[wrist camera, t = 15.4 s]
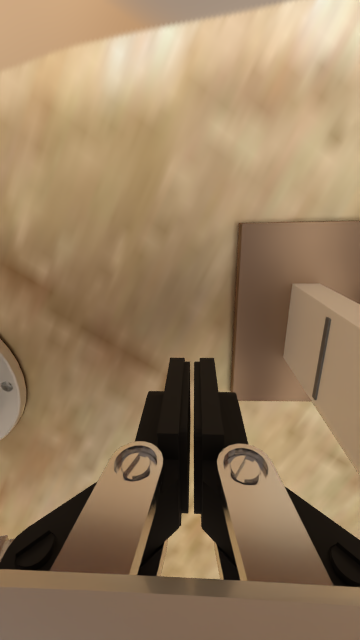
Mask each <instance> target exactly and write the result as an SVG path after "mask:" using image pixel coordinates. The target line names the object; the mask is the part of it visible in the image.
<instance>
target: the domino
mask: <svg viewBox="0 0 360 640" xmlns="http://www.w3.org/2000/svg"><path fill="white" fill-rule="evenodd" d="M283 358H284V359H285V361H286V362H287V364H288V365H289V367H290V369H291V370H292V372H293V373H294V375H295V376H296V378H297V379H298V381H299V382H300V384H301V386H302V387H303V389H304V390H305V392H306V393H307V395H308V396H309V398H310V399H311V401H312V403H313V404H314V406H315V407H316V409H317V410H318V412H319V413H320V415H321V416H322V418H323V420H324V421H325V423H326V424H327V426H328V427H329V429H330V430H331V432H332V434H333V435H334V437H335V438H336V440H337V441H338V443H339V444H340V446H341V447H342V449H343V451H344V452H345V454H346V455H347V457H348V458H349V460H350V461H351V463H352V464H353V466H354V468H355V469H356V471H357V472H358V474H359V475H360V304H358V303H356V302H354V301H352V300H350V299H348V298H346V297H345V296H343V295H341V294H339V293H337V292H335V291H333V290H331V289H329V288H327V287H325V286H323V285H321V284H320V283H316V284H292V291H291V299H290V307H289V315H288V323H287V331H286V339H285V347H284V355H283Z"/></svg>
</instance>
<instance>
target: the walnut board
mask: <svg viewBox="0 0 360 640" xmlns="http://www.w3.org/2000/svg"><path fill="white" fill-rule="evenodd" d="M316 283H320V284H321V285H323V286H325V287H327V288H329V289H331V290H333V291H335V292H337V293H339V294H341V295H343V296H345V297H346V298H348V299H350V300H352V301H354V302H356V303H358V304H360V221H319V222H271V223H239V233H238V253H237V272H236V292H235V312H234V331H233V351H232V370H231V390H230V391H231V392H235V393H236V395H237V399H238V401H311V399H310V398H309V396H308V395H307V393H306V392H305V390H304V389H303V387H302V386H301V384H300V382H299V381H298V379H297V378H296V376H295V375H294V373H293V372H292V370H291V369H290V367H289V365H288V364H287V362H286V361H285V359H284V358H283V355H284V347H285V339H286V331H287V323H288V315H289V307H290V299H291V291H292V284H316Z"/></svg>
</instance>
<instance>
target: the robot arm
mask: <svg viewBox="0 0 360 640" xmlns="http://www.w3.org/2000/svg"><path fill="white" fill-rule="evenodd" d="M25 404H26V386H25V381H24V376H23V374H22V371H21V369H20V367H19V364H18V362H17V360H16V359H15V357H14V356H13V354H12V353H11V351H10V349H9V348H8V347H7V346H6V345H5V344H4V343H3V341H2V340H1V339H0V440H1V439H2V438H4V437H5V436H6V435H8V433H9V432H10V431H11V430H12V429H13V428H14V426H15V425H16V424H17V423H18V421H19V419H20V418H21V416H22V414H23V412H24V408H25ZM189 464H190V362H185V360H184V358H170V362H169V368H168V374H167V379H166V385H165V391H149V392H148V395H147V398H146V402H145V406H144V410H143V413H142V417H141V421H140V424H139V428H138V432H137V436H136V439H135V442H131V443H128V444H126V445H124V446H121V447H120V448H119V449H118V450H116V451H115V452H114V454H113V455H112V456H111V458H110V459H109V461H108V463H107V465H106V467H105V469H104V471H103V472H102V474H101V476H100V478H99V480H98V481H97V482H96V483H94V484H93V485H91V486H90V487H88V488H87V489H85V490H84V491H82V492H81V493H79V494H78V495H76V496H75V497H73V498H72V499H70V500H69V501H67V502H66V503H64V504H63V505H61V506H60V507H58V508H57V509H55V510H54V511H52V512H51V513H49V514H48V515H46V516H44V517H43V518H41V519H40V520H38V521H37V522H35V523H34V524H32V525H31V526H29V527H28V528H27V529H25V530H24V531H23V532H22V533H20V534H19V535H18V536H17V537H16V538H15V539H10V540H9V539H8V536H7V535H5V536H0V640H360V540H359V539H357V538H356V537H355V536H353V535H352V534H350V533H349V532H348V531H346V530H345V529H343V528H342V527H341V526H339V525H338V524H336V523H335V522H334V521H332V520H331V519H329V518H328V517H327V516H325V515H324V514H322V513H321V512H320V511H318V510H317V509H315V508H314V507H313V506H311V505H310V504H309V503H307V502H306V501H304V500H303V499H302V498H300V497H299V496H297V495H296V494H295V493H293V492H292V491H290V490H289V489H288V488H286V487H285V486H284V485H283V483H282V481H281V479H280V477H279V475H278V473H277V471H276V469H275V467H274V465H273V463H272V461H271V460H270V458H269V457H268V455H266V454H265V453H264V452H263V451H262V450H260V449H258V448H256V447H254V446H251V445H248V441H247V437H246V433H245V429H244V424H243V420H242V416H241V411H240V407H239V403H238V399H237V395H236V393H235V392H218V385H217V378H216V370H215V363H214V358H200V362H194V514H201V527H202V529H203V530H204V531H205V532H206V533H207V534H208V535H209V536H210V537H211V538H212V540H213V541H214V547H215V554H216V560H217V565H218V570H219V575H220V580H219V579H200V578H180V577H161V573H162V568H163V564H164V559H165V555H166V550H167V542H168V538H169V537H170V536H171V535H172V534H173V533H174V532H175V531H176V530H177V529H178V528H179V526H181V513H188V507H189Z"/></svg>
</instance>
